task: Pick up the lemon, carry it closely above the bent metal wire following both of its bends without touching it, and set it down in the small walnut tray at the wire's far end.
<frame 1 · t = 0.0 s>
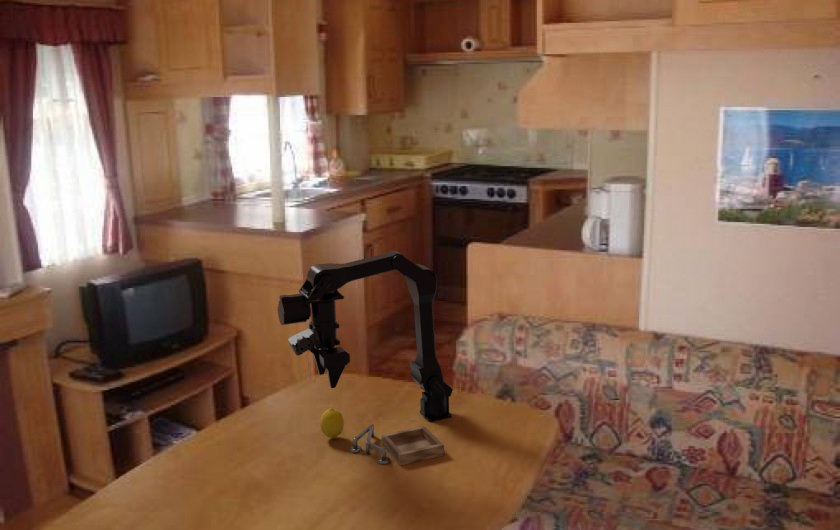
hand: (327, 380, 187), 15 cm above the table, tool pointing down, fingers open, 9 cm apart
lemon: (332, 439, 190), on the table
tray: (412, 450, 184), on the table
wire: (369, 449, 185), on the table
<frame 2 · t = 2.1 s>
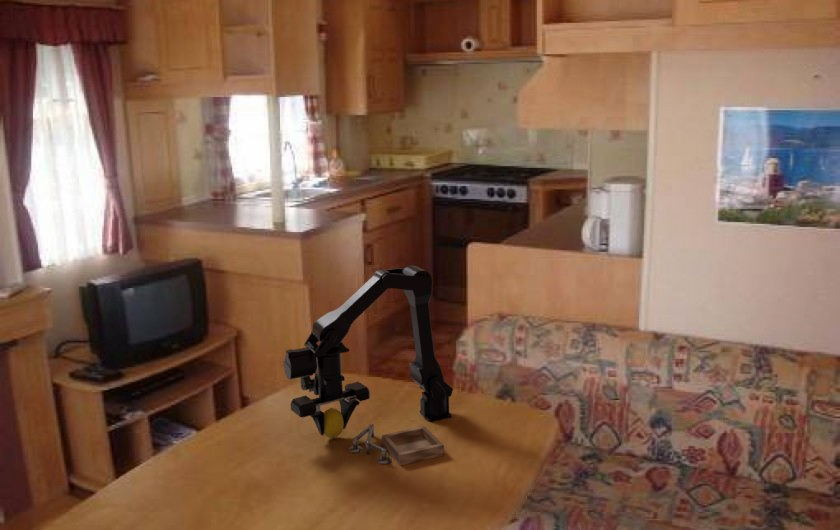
hand: (332, 431, 190), 2 cm above the table, tool pointing down, fingers closed on lemon, 5 cm apart
lemon: (332, 439, 190), on the table, touching gripper
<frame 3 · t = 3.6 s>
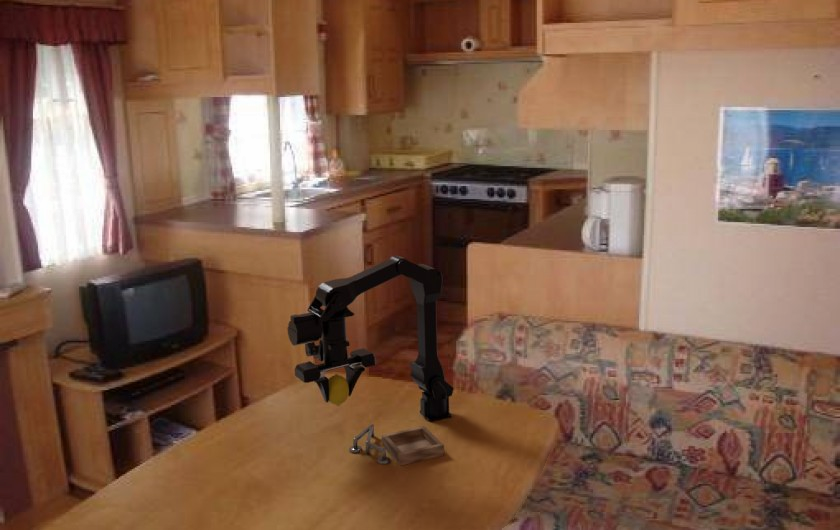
hand: (337, 398, 186), 11 cm above the table, tool pointing down, fingers closed on lemon, 5 cm apart
lemon: (338, 406, 187), point 9 cm above the table, touching gripper
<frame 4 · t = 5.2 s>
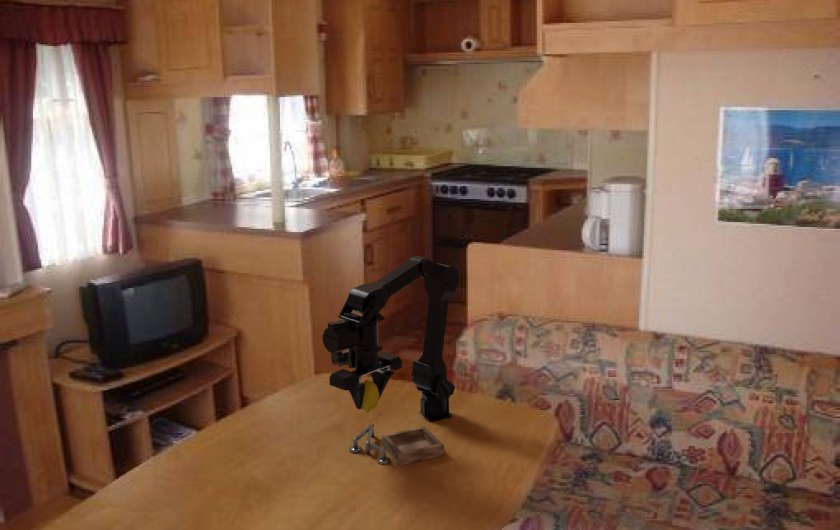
hand: (367, 404, 184), 10 cm above the table, tool pointing down, fingers closed on lemon, 5 cm apart
lemon: (367, 412, 185), point 8 cm above the table, touching gripper
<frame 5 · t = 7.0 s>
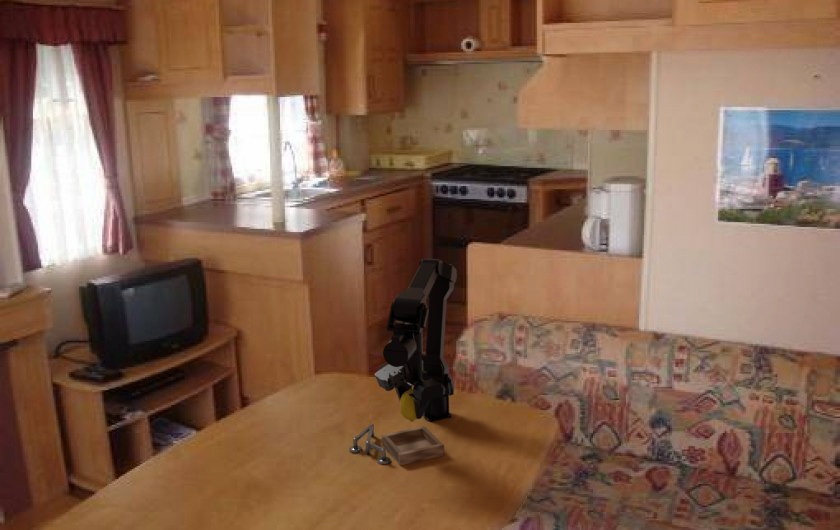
hand: (411, 414, 182), 9 cm above the table, tool pointing down, fingers closed on lemon, 5 cm apart
lemon: (412, 422, 182), point 7 cm above the table, touching gripper
when the fingers open (4 cm above the table, at t = 8.3 s): lemon drops 1 cm, resting on tray.
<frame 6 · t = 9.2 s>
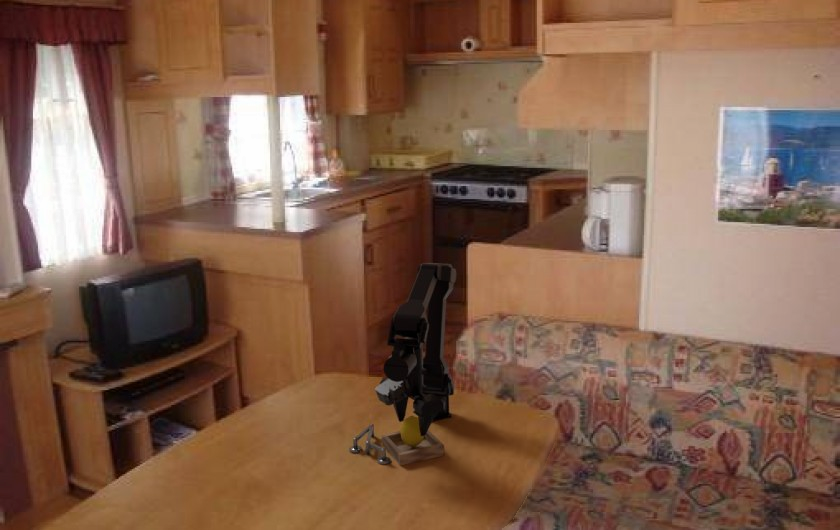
hand: (411, 428, 182), 6 cm above the table, tool pointing down, fingers open, 9 cm apart
lemon: (412, 448, 184), resting on tray
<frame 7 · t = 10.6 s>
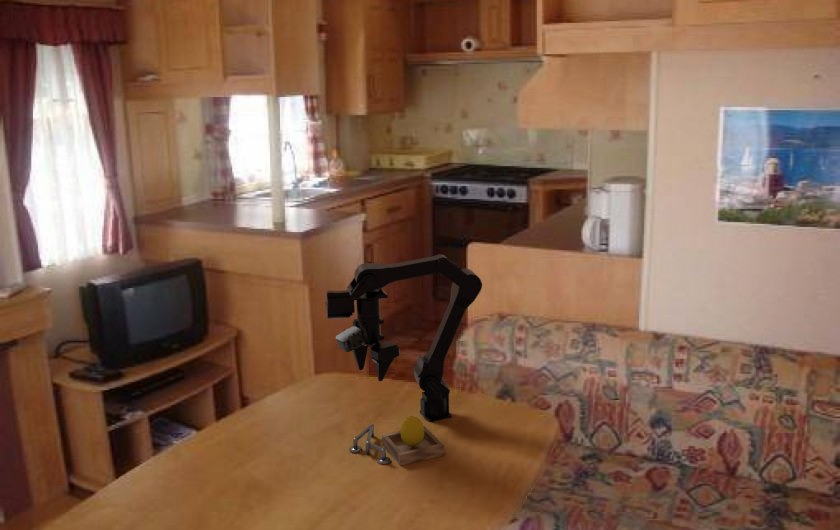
hand: (370, 375, 196), 13 cm above the table, tool pointing down, fingers open, 9 cm apart
nothing on the table moved.
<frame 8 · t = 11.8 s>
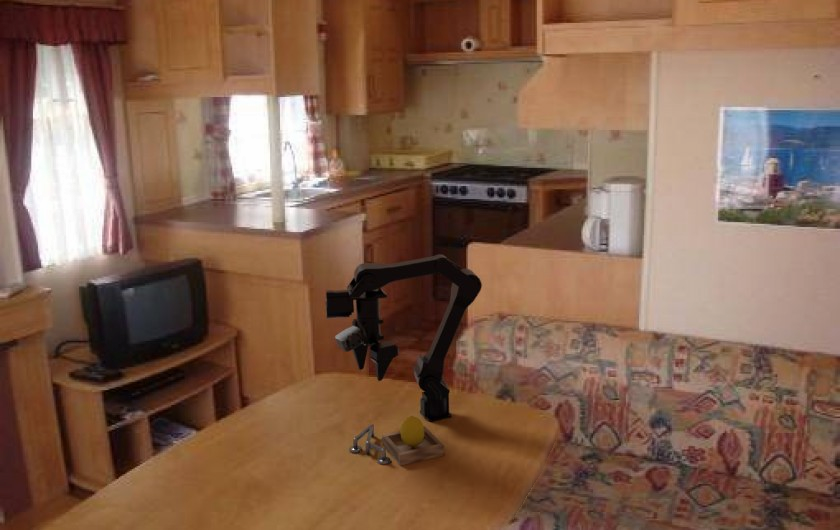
hand: (370, 374, 196), 12 cm above the table, tool pointing down, fingers open, 9 cm apart
nothing on the table moved.
at the end: lemon inside the target area on the tray (0.1 cm from its centre), point 0.4 cm above the tray's base; lemon touching tray; the gripper is holding nothing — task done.
